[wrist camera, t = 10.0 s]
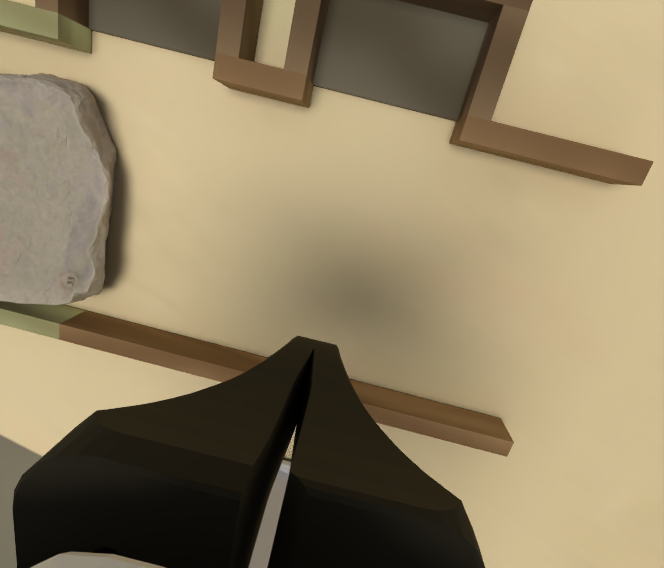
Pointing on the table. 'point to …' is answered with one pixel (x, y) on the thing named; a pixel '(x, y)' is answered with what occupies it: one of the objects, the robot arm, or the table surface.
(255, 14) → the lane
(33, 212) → the stone block
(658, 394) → the table surface
